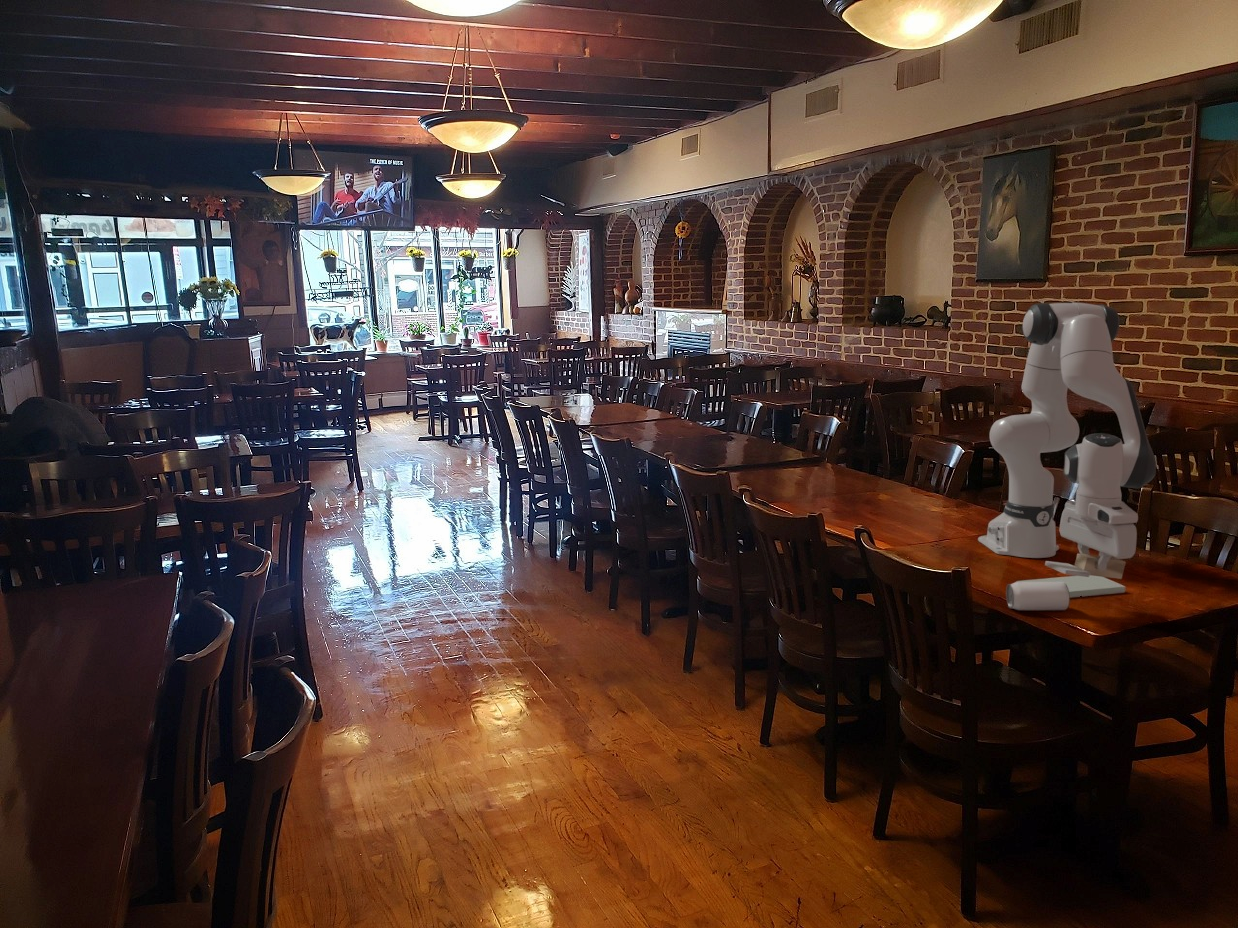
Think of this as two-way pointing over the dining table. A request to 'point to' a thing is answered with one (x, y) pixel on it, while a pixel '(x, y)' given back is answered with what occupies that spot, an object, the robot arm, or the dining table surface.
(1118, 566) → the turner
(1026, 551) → the robot arm
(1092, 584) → the rest board
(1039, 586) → the can
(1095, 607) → the dining table surface
